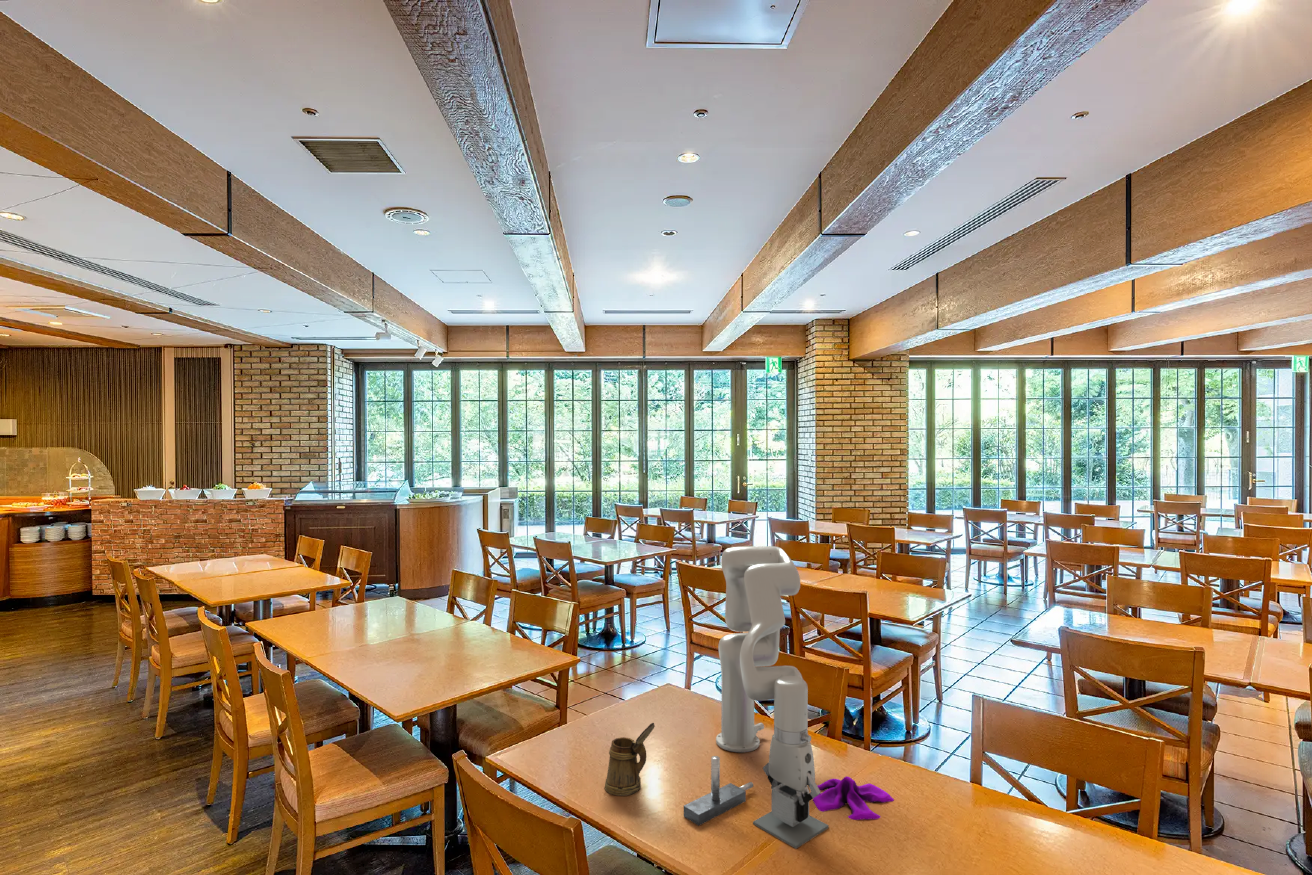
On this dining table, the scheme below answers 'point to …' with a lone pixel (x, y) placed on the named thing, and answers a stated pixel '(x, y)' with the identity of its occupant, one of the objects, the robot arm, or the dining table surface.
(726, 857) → the dining table surface
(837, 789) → the cloth
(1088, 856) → the dining table surface
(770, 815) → the slate pad
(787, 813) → the steel collar
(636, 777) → the wooden mug
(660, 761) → the dining table surface
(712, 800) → the block
